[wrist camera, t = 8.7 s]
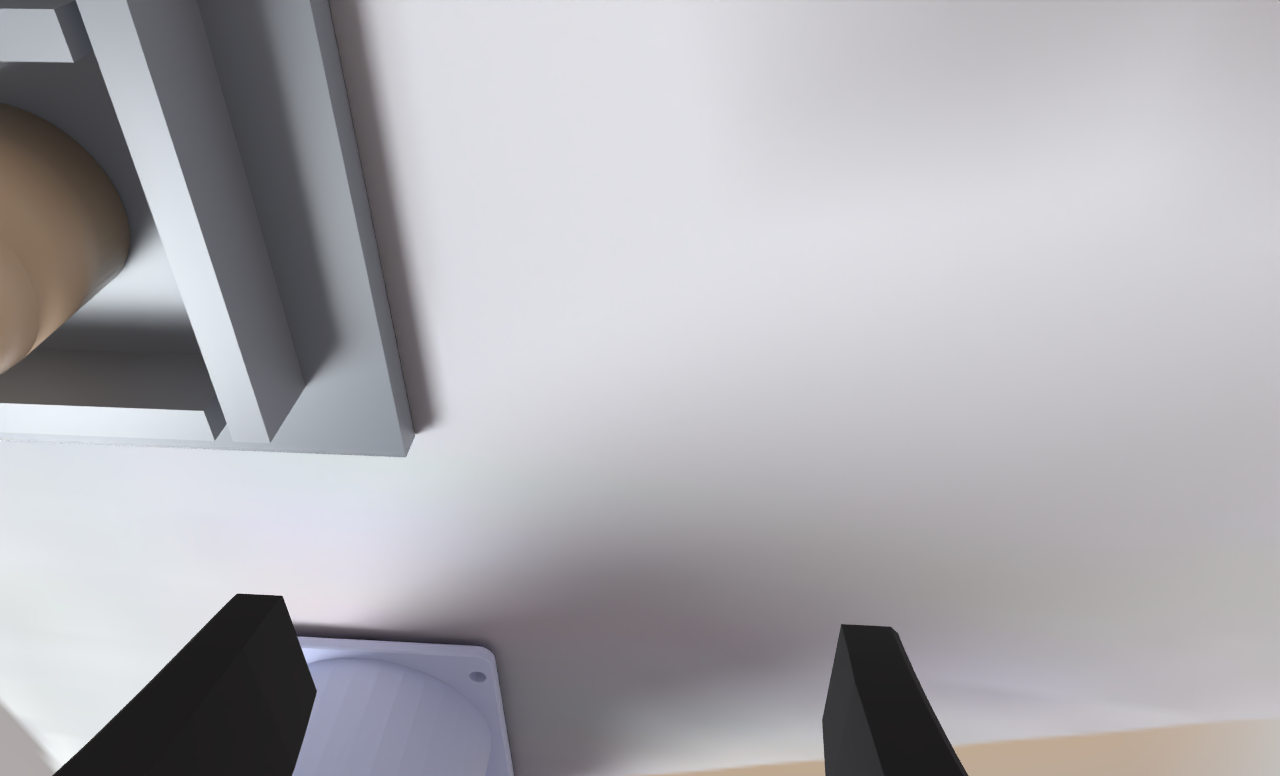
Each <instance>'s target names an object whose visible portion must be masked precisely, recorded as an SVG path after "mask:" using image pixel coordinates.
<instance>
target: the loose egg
mask: <svg viewBox="0 0 1280 776" xmlns="http://www.w3.org/2000/svg"><path fill="white" fill-rule="evenodd" d="M129 246H130V231H129V224H128V219H127V216H126V212H125V209H124V206H123V204H122V201H121V199H120V197H119V195H118V193H117V191H116V189H115V187H114V186H113V184H112V182H111V181H110V179H109V178H108V176H107V175H106V173H105V172H104V171H103V169H102V168H101V167H100V166H99V165H98V163H97V162H96V161H95V160H94V158H93V157H92V156H91V155H90V154H89V153H88V152H87V151H86V150H85V149H84V148H83V147H82V146H80V145H79V144H78V143H77V142H76V141H75V140H73V139H72V138H71V137H70V136H69V135H67V134H66V133H64V132H63V131H61V130H60V129H59V128H57V127H56V126H54V125H53V124H51V123H49V122H47V121H46V120H44V119H42V118H40V117H38V116H36V115H34V114H32V113H30V112H27V111H25V110H22V109H20V108H17V107H14V106H11V105H7V104H3V103H0V375H1V374H3V373H4V372H6V371H7V370H8V369H10V368H11V367H13V366H14V365H15V364H17V363H18V362H19V361H21V360H22V359H23V358H24V357H26V356H27V355H28V354H29V353H30V352H31V351H32V350H34V349H35V348H36V347H37V346H38V345H39V344H40V343H42V342H43V341H44V340H45V339H46V338H47V337H48V336H50V335H51V334H52V333H53V332H54V331H55V330H56V329H58V328H59V327H60V326H61V325H62V324H63V323H64V322H66V321H67V320H68V319H69V318H70V317H71V316H72V315H74V314H75V313H76V312H77V311H78V310H79V309H80V308H82V307H83V306H84V305H85V304H86V303H87V302H88V301H90V300H91V299H92V298H93V297H94V296H95V295H96V294H98V293H99V292H100V291H101V290H102V289H103V288H104V287H106V286H107V285H108V284H109V283H110V282H111V281H112V280H113V279H114V278H115V277H116V276H117V275H118V274H119V273H120V271H121V269H122V268H123V266H124V264H125V262H126V259H127V256H128V252H129Z"/></svg>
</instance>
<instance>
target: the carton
mask: <svg viewBox="0 0 1280 776" xmlns="http://www.w3.org/2000/svg"><path fill="white" fill-rule="evenodd" d="M0 103H3V104H7V105H11V106H14V107H17V108H20V109H22V110H25V111H27V112H30V113H32V114H34V115H36V116H38V117H40V118H42V119H44V120H46V121H47V122H49V123H51V124H53V125H54V126H56V127H57V128H59V129H60V130H61V131H63V132H64V133H66V134H67V135H69V136H70V137H71V138H72V139H73V140H75V141H76V142H77V143H78V144H79V145H80V146H82V147H83V148H84V149H85V150H86V151H87V152H88V153H89V154H90V155H91V156H92V157H93V158H94V160H95V161H96V162H97V163H98V165H99V166H100V167H101V168H102V169H103V171H104V172H105V173H106V175H107V176H108V178H109V179H110V181H111V182H112V184H113V186H114V187H115V189H116V191H117V193H118V195H119V197H120V199H121V201H122V204H123V206H124V209H125V212H126V216H127V219H128V224H129V231H130V246H129V252H128V256H127V259H126V262H125V264H124V266H123V268H122V269H121V271H120V273H119V274H118V275H117V276H116V277H115V278H114V279H113V280H112V281H111V282H110V283H109V284H108V285H107V286H106V287H104V288H103V289H102V290H101V291H100V292H99V293H98V294H96V295H95V296H94V297H93V298H92V299H91V300H90V301H88V302H87V303H86V304H85V305H84V306H83V307H82V308H80V309H79V310H78V311H77V312H76V313H75V314H74V315H72V316H71V317H70V318H69V319H68V320H67V321H66V322H64V323H63V324H62V325H61V326H60V327H59V328H58V329H56V330H55V331H54V332H53V333H52V334H51V335H50V336H48V337H47V338H46V339H45V340H44V341H43V342H42V343H40V344H39V345H38V346H37V347H36V348H35V349H34V350H32V351H31V352H30V353H29V354H28V355H27V356H26V357H24V358H23V359H22V360H21V361H19V362H18V363H17V364H15V365H14V366H13V367H11V368H10V369H8V370H7V371H6V372H4V373H3V374H1V375H0V440H1V441H25V442H49V443H74V444H98V445H122V446H146V447H170V448H195V449H219V450H243V451H267V452H292V453H316V454H340V455H364V456H388V457H406V456H407V453H408V451H409V449H410V446H411V444H412V442H413V439H414V437H415V434H414V429H413V424H412V419H411V414H410V409H409V404H408V399H407V394H406V389H405V384H404V379H403V374H402V369H401V364H400V359H399V354H398V349H397V344H396V339H395V334H394V329H393V324H392V319H391V314H390V309H389V304H388V299H387V294H386V289H385V284H384V278H383V273H382V268H381V263H380V258H379V253H378V248H377V243H376V238H375V233H374V228H373V223H372V218H371V213H370V208H369V203H368V198H367V193H366V188H365V183H364V178H363V173H362V168H361V163H360V158H359V153H358V148H357V143H356V138H355V133H354V128H353V123H352V118H351V113H350V108H349V103H348V98H347V93H346V88H345V83H344V78H343V73H342V68H341V63H340V58H339V53H338V48H337V43H336V38H335V33H334V28H333V23H332V18H331V13H330V8H329V3H328V0H0Z"/></svg>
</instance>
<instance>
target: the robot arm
mask: <svg viewBox="0 0 1280 776" xmlns="http://www.w3.org/2000/svg"><path fill="white" fill-rule="evenodd" d="M822 723H823V740H824V758H825V773H826V776H968V774H967V773H966V771H965V769H964V767H963V765H962V764H961V762H960V760H959V758H958V757H957V755H956V753H955V751H954V749H953V747H952V745H951V744H950V742H949V740H948V738H947V736H946V734H945V732H944V730H943V728H942V727H941V725H940V723H939V721H938V719H937V717H936V715H935V713H934V711H933V709H932V707H931V705H930V703H929V701H928V699H927V697H926V695H925V693H924V691H923V689H922V687H921V685H920V682H919V680H918V678H917V676H916V674H915V672H914V670H913V667H912V665H911V663H910V661H909V659H908V656H907V654H906V652H905V649H904V647H903V645H902V642H901V640H900V638H899V635H898V633H897V632H896V631H895V630H894V629H892V628H891V627H884V626H864V625H845V624H841V629H840V634H839V639H838V644H837V649H836V654H835V659H834V664H833V669H832V674H831V679H830V684H829V689H828V694H827V699H826V704H825V709H824V714H823V719H822ZM52 776H514V773H513V766H512V760H511V754H510V748H509V742H508V735H507V729H506V723H505V717H504V711H503V704H502V698H501V692H500V686H499V680H498V674H497V667H496V661H495V657H494V655H493V653H492V652H491V651H489V650H488V649H486V648H484V647H480V646H468V645H449V644H431V643H412V642H393V641H375V640H356V639H337V638H318V637H300V636H297V635H296V632H295V629H294V626H293V624H292V621H291V618H290V615H289V613H288V610H287V607H286V604H285V602H284V599H283V596H274V595H254V594H236V595H235V596H234V597H233V598H232V599H231V600H230V601H229V602H228V603H227V604H226V605H225V606H224V607H223V608H222V609H221V610H220V611H219V612H218V613H217V614H216V615H215V616H214V617H213V618H212V619H211V620H210V621H209V622H208V623H207V624H206V625H205V626H204V627H203V628H202V629H201V630H200V631H199V632H198V633H197V634H196V635H195V636H194V637H193V638H192V639H191V640H190V641H189V642H188V643H187V644H186V646H185V647H184V648H183V649H182V650H181V651H180V652H179V653H178V654H177V655H176V656H175V657H174V658H173V659H172V660H171V661H170V662H169V663H168V664H167V665H166V666H165V667H164V668H163V669H162V670H161V671H160V672H159V673H158V674H157V675H156V676H155V677H154V678H153V679H152V680H151V681H150V682H149V683H148V684H147V685H146V686H145V687H144V688H143V689H142V690H141V691H140V692H139V693H138V694H137V695H136V696H135V697H134V698H133V699H132V700H131V701H130V702H129V703H128V704H127V705H126V706H125V707H124V708H123V709H122V710H121V711H120V712H119V713H118V714H117V715H116V716H115V717H114V718H113V719H112V720H111V721H110V722H109V723H108V724H107V725H106V726H105V727H104V728H102V729H101V730H100V731H99V732H98V733H97V734H96V735H95V736H94V737H93V738H92V739H91V740H90V741H89V742H88V743H87V744H86V745H85V746H84V747H83V748H82V749H81V750H80V751H79V752H78V753H77V754H75V755H74V756H73V757H72V758H71V759H70V760H69V761H68V762H67V763H66V764H64V765H63V766H62V767H61V768H60V769H59V770H58V771H57V772H56V773H55V774H54V775H52Z"/></svg>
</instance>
